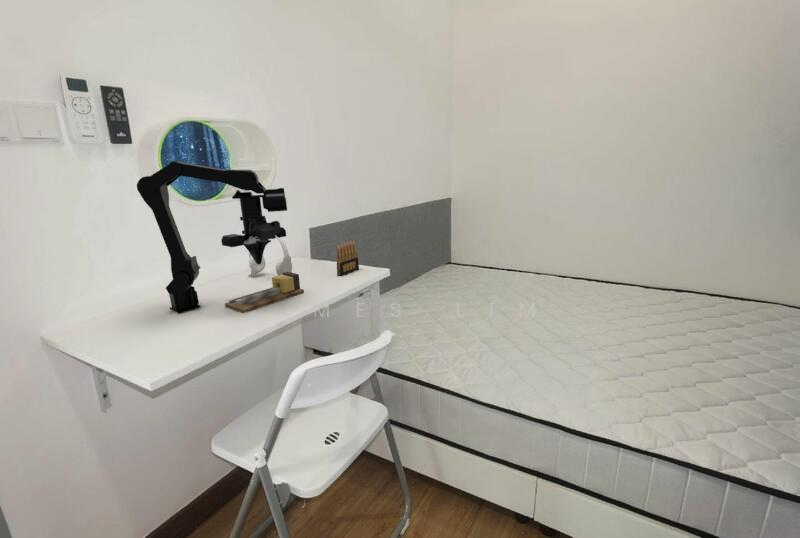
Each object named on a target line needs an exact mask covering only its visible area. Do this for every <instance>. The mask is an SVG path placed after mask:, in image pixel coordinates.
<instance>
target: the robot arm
mask: <svg viewBox="0 0 800 538" xmlns="http://www.w3.org/2000/svg"><path fill="white" fill-rule="evenodd" d="M180 177H186V178H192V179H196V180H197V179H198V180H205V181H209V182H215V183H223V184H225V185H229V186H231V187H232V188H233V187H234V188H236V189H238V190H235V193H234V194H233V195H232V197H231V198H232V199H233V200H238V199H239V203H240V211H241V216H239V220H240V221H242V226H243V230H241V234H238V233H237V234H236V233H231V234H226V235H222V237H221V239H220V241H221V246H223V247H229V248H236V247H240V246H244V247H245V249H246V250H247V251H248V253H249V252H250V254H251V255H252V257H253V259H254V260H255V262H256V263H257V264H261V261H262V256H263V257H264V251H265V249H266V246H267V245H268V244H269V243H271V242H272V240H274V239H276V238H275V236H277V237H278V238H280V237H282V238H284V237H287V231H286V229H285V227H283V226H281V223H280V221H278V220H274V221H271V222H267V218H266V215H263V211H262V210H263V209H265V210H267V212H268V213H271V212H272V213H273V212H274V213H275V212H285V211H286V212H287V211H288V206H287V205H288V202H287V197H286V194H285V188H284V187H279V188H270V189H269V188H268V189H267V188H266V187H265V186H264V185H263V184H262V183H261V182H260V181H259V180H260V179H259V176H258V174H257V173H256V172H255V171H254V170H252V169H223V168H217V167H213V166H212V167H211V166H205V165H199V164H194V163H189V162H187V163H186V162H184V161H181V160H172V161H170V162H169V163H168V164H167V165H166V166H164V167H162V168H161V169H160V170H159V169H158V171H155V172H154V173H153V174H151V175H145V176H143V177H141V178H139V179H138V181H137V182H136V189H137V191H138V193H139V195H140V197H141V198H142V199H143V201H144V202H145V204H146V205H147V206H148V207H149V208H150V210H151V211H152V213H153V216H154V218H155V221H156V223H157V227H158V228H159V230H160V234H161V237H162V239H163V241H164V243H165V246H166V249H167V251H168V254H169V257H170V272H171V277H172V280H171V281H170V282H169V283H168V285H166V286H165V290H166V291H167V293H168V294H169V301H170V304H171V305H170V306H171V307H169V310H170V311H173V312H175V313H177V314H182V313H185V312H189V311H191V310H195V309H198V308H200V307H201V305H200V304H199V303H200V302H199V301H200V300H199V297H198V291H197V290H196V289H195V287H194V286H193V285H194V282H195V281H196V280H197V278H198V276H199V274H200V269H201V266H200V265H199V264H198V261H197V260H198V258H197V256H196V255H194V256H191V255H189V253H188V252H187V249H186V247H185V245H184V243H183V240H182V237H181V234H180V232H179V229H178V225H177V223H176V221H175V218H174V215H173V213H172V209H171V207H170V195H169V189H168V187H169V186H170V185H172V184H173V183H174V182H175V181H177V180H178V179H179V178H180ZM239 189H240V190H239ZM241 190H242V191H245V192H242V191H241ZM252 192H253V193H255V194H253V193H252ZM261 198H262V200H261ZM262 207H263V209H262ZM271 239H272V240H271Z"/></svg>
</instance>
